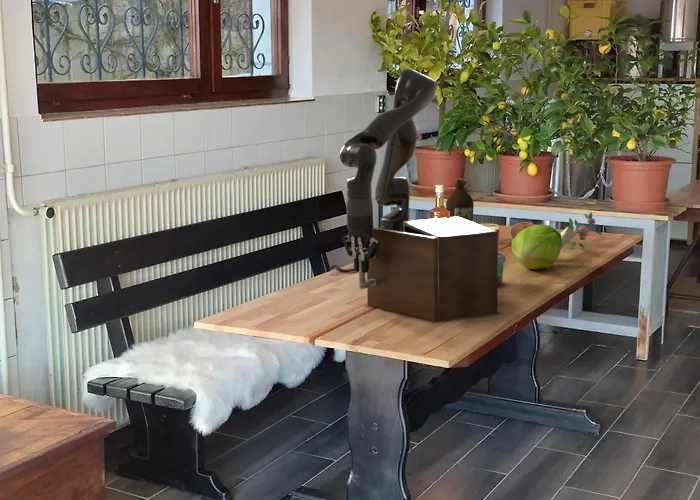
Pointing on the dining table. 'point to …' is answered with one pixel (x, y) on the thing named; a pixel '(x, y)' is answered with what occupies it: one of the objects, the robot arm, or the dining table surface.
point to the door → (403, 274)
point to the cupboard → (462, 265)
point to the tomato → (519, 228)
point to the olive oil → (460, 202)
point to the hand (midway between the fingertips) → (361, 271)
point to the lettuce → (537, 246)
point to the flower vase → (582, 231)
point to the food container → (500, 268)
